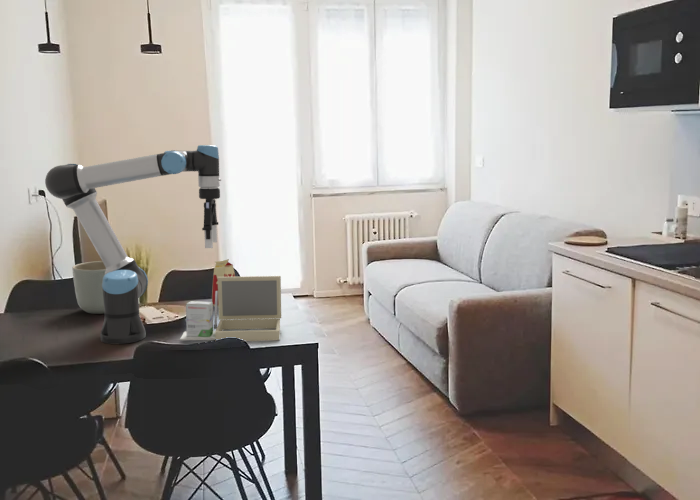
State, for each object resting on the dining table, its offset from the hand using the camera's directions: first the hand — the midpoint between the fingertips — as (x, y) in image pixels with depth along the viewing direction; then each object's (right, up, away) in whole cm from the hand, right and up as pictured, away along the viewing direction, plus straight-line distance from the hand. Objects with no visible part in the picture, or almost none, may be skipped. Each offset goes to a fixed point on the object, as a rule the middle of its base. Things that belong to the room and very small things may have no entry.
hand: (211, 245), depth 248 cm
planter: (-50, -27, +27) cm, 63 cm away
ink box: (-2, -32, -9) cm, 34 cm away
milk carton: (-2, -25, +37) cm, 44 cm away
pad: (-2, -33, -9) cm, 34 cm away
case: (+15, -32, -7) cm, 36 cm away
